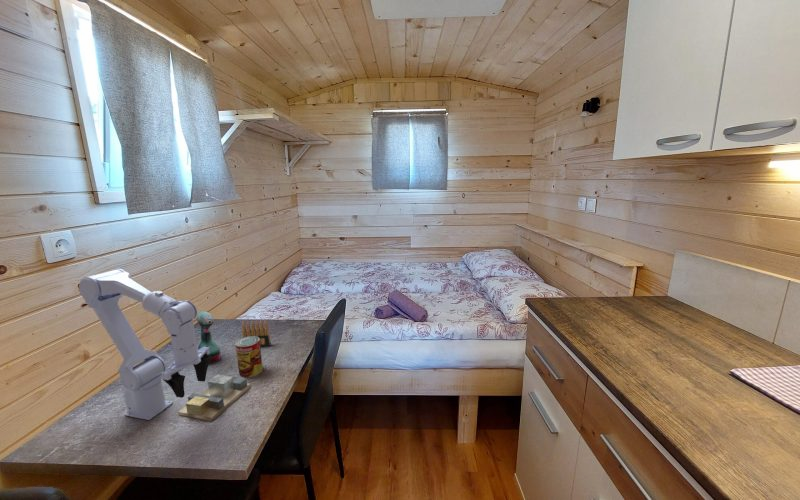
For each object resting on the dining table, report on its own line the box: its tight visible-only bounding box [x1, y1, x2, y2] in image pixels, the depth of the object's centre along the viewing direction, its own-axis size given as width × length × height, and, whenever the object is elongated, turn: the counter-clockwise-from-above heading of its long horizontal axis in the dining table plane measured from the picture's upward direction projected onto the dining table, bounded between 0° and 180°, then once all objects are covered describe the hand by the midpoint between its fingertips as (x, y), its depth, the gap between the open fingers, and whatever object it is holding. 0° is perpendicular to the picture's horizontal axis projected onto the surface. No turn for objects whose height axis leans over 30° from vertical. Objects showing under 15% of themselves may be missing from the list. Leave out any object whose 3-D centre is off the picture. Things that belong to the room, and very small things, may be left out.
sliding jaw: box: [185, 393, 224, 416], centre depth 100 cm, size 11×6×3 cm, turn 76°
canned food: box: [235, 336, 263, 379], centre depth 121 cm, size 8×8×12 cm
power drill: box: [195, 310, 221, 363], centre depth 128 cm, size 7×16×20 cm, turn 41°
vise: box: [177, 374, 252, 422], centre depth 106 cm, size 12×17×4 cm
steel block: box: [207, 374, 234, 398], centre depth 108 cm, size 4×6×5 cm, turn 76°
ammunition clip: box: [241, 318, 272, 348], centre depth 139 cm, size 11×2×12 cm, turn 98°
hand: (191, 388), depth 97 cm, fingers open, 7 cm apart
